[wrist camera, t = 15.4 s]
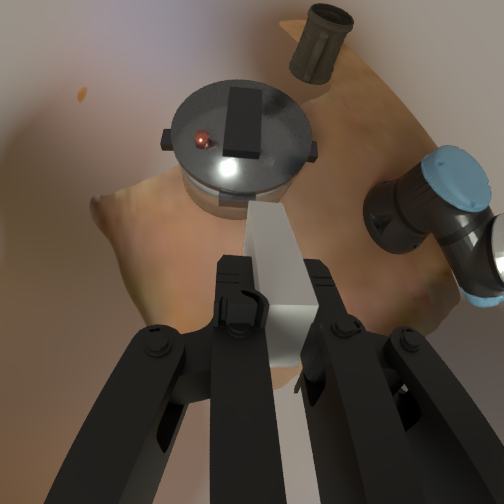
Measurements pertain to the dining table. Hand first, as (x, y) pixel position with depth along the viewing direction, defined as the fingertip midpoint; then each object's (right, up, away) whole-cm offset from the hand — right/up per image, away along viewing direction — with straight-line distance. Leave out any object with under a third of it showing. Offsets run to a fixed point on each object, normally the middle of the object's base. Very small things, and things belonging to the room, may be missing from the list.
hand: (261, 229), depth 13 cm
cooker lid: (-2, +17, +28) cm, 33 cm away
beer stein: (+14, +42, +48) cm, 65 cm away
